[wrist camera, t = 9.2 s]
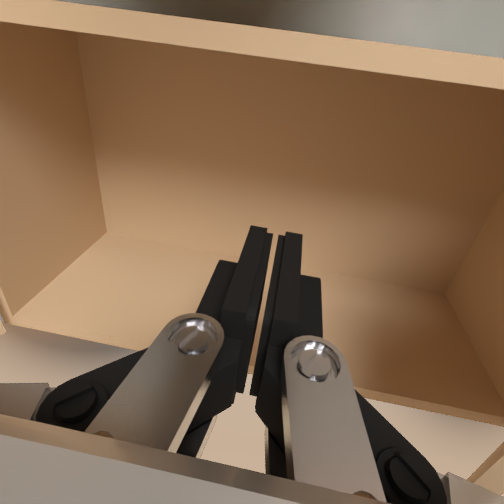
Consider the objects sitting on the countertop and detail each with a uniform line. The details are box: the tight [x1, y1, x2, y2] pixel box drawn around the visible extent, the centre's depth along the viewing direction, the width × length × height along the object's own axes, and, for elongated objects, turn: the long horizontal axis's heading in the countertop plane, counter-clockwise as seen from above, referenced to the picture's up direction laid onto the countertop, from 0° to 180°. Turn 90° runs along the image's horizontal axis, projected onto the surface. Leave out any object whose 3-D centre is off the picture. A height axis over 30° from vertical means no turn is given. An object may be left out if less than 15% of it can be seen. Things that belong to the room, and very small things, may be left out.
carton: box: [0, 0, 504, 427], centre depth 15 cm, size 24×13×9 cm, turn 83°
